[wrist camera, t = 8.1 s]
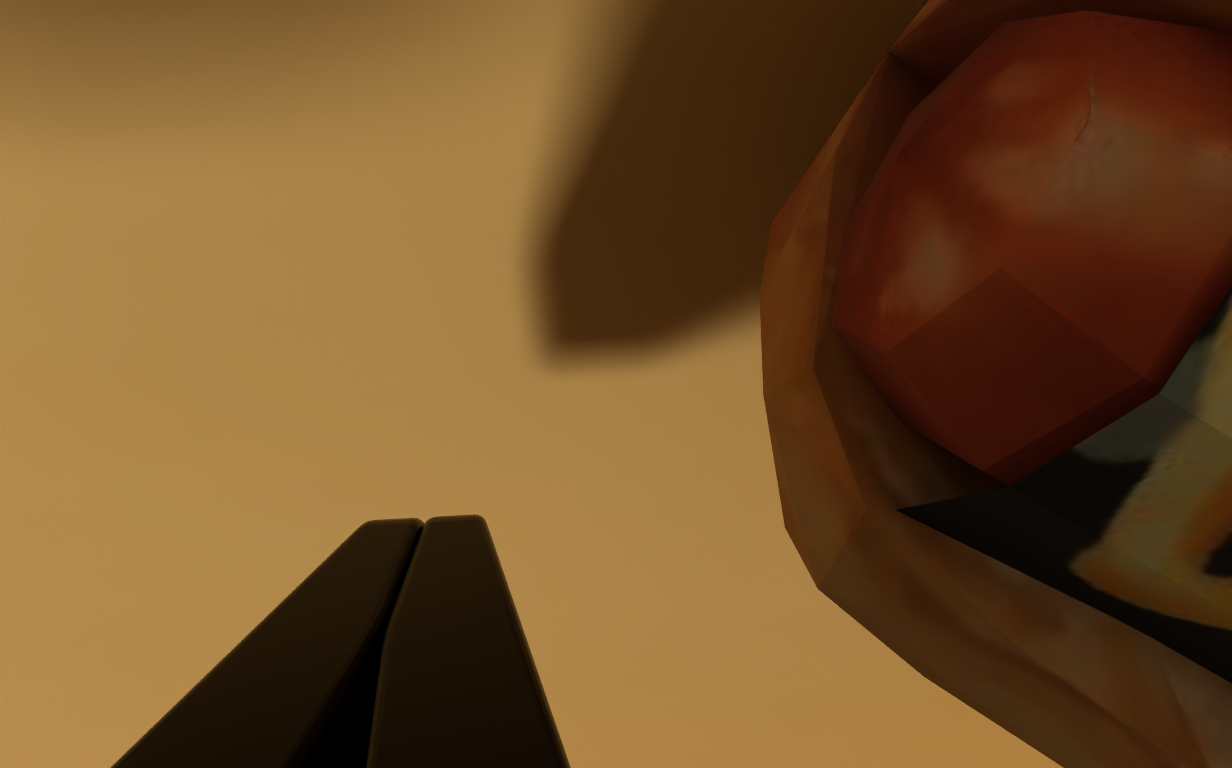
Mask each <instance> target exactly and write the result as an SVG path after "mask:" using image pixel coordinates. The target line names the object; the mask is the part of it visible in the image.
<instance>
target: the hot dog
mask: <svg viewBox="0 0 1232 768" xmlns="http://www.w3.org/2000/svg"><path fill="white" fill-rule="evenodd" d="M760 316H761V343H762V371H763V395H764V401H765V407H766V413H767V419H768V425H769V431H770V438H771V444H772V450H773V456H774V462H775V468H776V475H777V481H778V487H779V493H780V499H781V505H782V512H783V518H784V524H785V528H786V530H787V532H788V534H789V536H790V538H791V539H792V541H793V543H794V545H795V547H796V549H797V551H798V553H799V554H800V556H801V558H802V560H803V562H804V564H805V566H806V568H807V569H808V571H809V573H810V575H811V577H812V579H813V581H814V583H815V584H816V586H817V588H818V589H819V590H820V591H821V592H822V593H824V594H825V595H826V596H827V597H828V598H830V599H831V600H832V601H833V602H834V603H836V604H837V605H838V606H839V607H840V608H842V609H843V610H844V611H845V612H847V613H848V614H849V615H850V616H851V617H853V618H854V619H855V620H856V621H857V622H859V623H860V624H861V625H862V626H863V627H865V628H866V629H867V630H868V631H870V632H871V633H872V634H873V635H874V636H876V637H877V638H878V639H879V640H880V641H882V642H883V643H884V644H885V645H886V646H888V647H889V648H890V649H891V650H892V651H894V652H895V653H896V654H897V655H899V656H900V657H901V658H902V659H903V660H905V661H906V662H907V663H908V664H909V665H911V666H912V667H913V668H914V669H915V670H917V671H918V672H919V673H920V674H922V675H923V676H924V677H925V678H927V679H928V680H930V681H932V682H933V683H935V684H936V685H938V686H939V687H941V688H942V689H944V690H945V691H947V692H948V693H950V694H952V695H953V696H955V697H956V698H958V699H959V700H961V701H962V702H964V703H965V704H967V705H968V706H970V707H972V708H973V709H975V710H976V711H978V712H979V713H981V714H982V715H984V716H985V717H987V718H988V719H990V720H991V721H993V722H995V723H996V724H998V725H999V726H1001V727H1002V728H1004V729H1005V730H1007V731H1008V732H1010V733H1011V734H1013V735H1015V736H1016V737H1018V738H1019V739H1021V740H1022V741H1024V742H1025V743H1027V744H1028V745H1030V746H1031V747H1033V748H1035V749H1036V750H1038V751H1039V752H1041V753H1042V754H1044V755H1045V756H1047V757H1048V758H1050V759H1051V760H1053V761H1055V762H1056V763H1058V764H1059V765H1061V766H1062V767H1064V768H1232V0H928V1H927V3H926V4H925V5H924V6H923V8H922V9H921V10H920V12H919V13H918V14H917V15H916V17H915V18H914V19H913V20H912V22H911V23H910V24H909V25H908V27H907V28H906V29H905V31H904V32H903V33H902V34H901V36H900V37H899V38H898V39H897V41H896V42H895V43H894V44H893V46H892V47H891V48H890V50H889V51H888V52H887V54H886V55H885V57H884V58H883V59H882V61H881V62H880V64H879V65H878V67H877V68H876V70H875V71H874V73H873V74H872V76H871V77H870V79H869V80H868V82H867V83H866V84H865V86H864V87H863V89H862V90H861V92H860V93H859V95H858V96H857V98H856V99H855V101H854V102H853V104H852V105H851V106H850V108H849V109H848V111H847V112H846V114H845V115H844V117H843V118H842V120H841V121H840V123H839V124H838V126H837V127H836V129H835V130H834V131H833V133H832V134H831V136H830V137H829V139H828V140H827V142H826V143H825V145H824V146H823V148H822V149H821V151H820V152H819V154H818V155H817V156H816V158H815V159H814V161H813V162H812V164H811V165H810V167H809V168H808V170H807V171H806V173H805V174H804V176H803V177H802V179H801V180H800V181H799V183H798V184H797V186H796V187H795V189H794V190H793V192H792V193H791V195H790V196H789V198H788V199H787V201H786V202H785V203H784V205H783V206H782V208H781V209H780V211H779V212H778V214H777V215H776V217H775V218H774V220H773V221H772V223H771V227H770V233H769V239H768V245H767V251H766V257H765V263H764V270H763V276H762V282H761V288H760Z"/></svg>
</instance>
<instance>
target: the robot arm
mask: <svg viewBox="0 0 1232 768" xmlns="http://www.w3.org/2000/svg"><path fill="white" fill-rule="evenodd" d="M111 768H570V765H569V762H568V759H567V756H566V753H565V750H564V747H563V744H562V741H561V738H560V735H559V733H558V730H557V727H556V724H555V721H554V718H553V715H552V712H551V709H550V706H549V703H548V701H547V698H546V695H545V692H544V689H543V686H542V683H541V680H540V677H539V674H538V671H537V669H536V666H535V663H534V660H533V657H532V654H531V651H530V648H529V645H528V642H527V639H526V636H525V634H524V631H523V628H522V625H521V622H520V619H519V616H518V613H517V610H516V607H515V604H514V602H513V599H512V596H511V593H510V590H509V587H508V584H507V581H506V578H505V575H504V572H503V570H502V567H501V564H500V561H499V558H498V555H497V552H496V549H495V546H494V543H493V540H492V537H491V535H490V532H489V529H488V526H487V523H486V521H485V519H484V518H483V517H481V516H479V515H458V516H440V517H433V518H431V519H429V520H428V521H426V523H424V522H422V521H421V520H419V519H418V518H404V519H385V520H373V521H368V522H366V523H364V524H363V525H361V526H360V527H359V528H358V529H357V530H356V531H355V532H354V533H353V534H352V535H350V536H349V537H348V538H347V539H346V540H345V541H344V542H343V543H342V544H341V545H340V546H339V547H338V548H337V549H336V550H335V551H334V552H333V553H332V554H331V555H330V556H329V557H328V558H327V559H326V560H325V561H324V562H323V563H322V564H321V565H319V566H318V567H317V568H316V569H315V570H314V571H313V572H312V573H311V574H310V575H309V576H308V577H307V578H306V579H305V580H304V581H303V582H302V583H301V584H300V585H299V586H298V587H297V588H296V589H295V590H294V591H293V592H292V593H291V594H289V595H288V596H287V597H286V598H285V599H284V600H283V601H282V602H281V603H280V604H279V605H278V606H277V607H276V608H275V609H274V610H273V611H272V612H271V613H270V614H269V615H268V616H267V617H266V618H265V619H264V620H263V621H262V622H261V623H260V624H258V625H257V626H256V627H255V628H254V629H253V630H252V631H251V632H250V633H249V634H248V635H247V636H246V637H245V638H244V639H243V640H242V641H241V642H240V643H239V644H238V645H237V646H236V647H235V648H234V649H233V650H232V651H231V652H230V653H228V654H227V655H226V656H225V657H224V658H223V659H222V660H221V661H220V662H219V663H218V664H217V665H216V666H215V667H214V668H213V669H212V670H211V671H210V672H209V673H208V674H207V675H206V676H205V677H204V678H203V679H202V680H201V681H200V682H199V683H197V684H196V685H195V686H194V687H193V688H192V689H191V690H190V691H189V692H188V693H187V694H186V695H185V696H184V697H183V698H182V699H181V700H180V701H179V702H178V703H177V704H176V705H175V706H174V707H173V708H172V709H171V710H170V711H169V712H167V713H166V714H165V715H164V716H163V717H162V718H161V719H160V720H159V721H158V722H157V723H156V724H155V725H154V726H153V727H152V728H151V729H150V730H149V731H148V732H147V733H146V734H145V735H144V736H143V737H142V738H141V739H140V740H139V741H138V742H136V743H135V744H134V745H133V746H132V747H131V748H130V749H129V750H128V751H127V752H126V753H125V754H124V755H123V756H122V757H121V758H120V759H119V760H118V761H117V762H116V763H115V764H114V765H113V766H112V767H111Z"/></svg>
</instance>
